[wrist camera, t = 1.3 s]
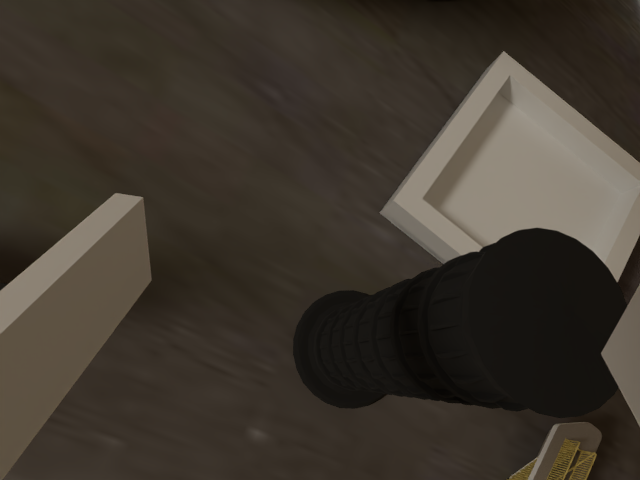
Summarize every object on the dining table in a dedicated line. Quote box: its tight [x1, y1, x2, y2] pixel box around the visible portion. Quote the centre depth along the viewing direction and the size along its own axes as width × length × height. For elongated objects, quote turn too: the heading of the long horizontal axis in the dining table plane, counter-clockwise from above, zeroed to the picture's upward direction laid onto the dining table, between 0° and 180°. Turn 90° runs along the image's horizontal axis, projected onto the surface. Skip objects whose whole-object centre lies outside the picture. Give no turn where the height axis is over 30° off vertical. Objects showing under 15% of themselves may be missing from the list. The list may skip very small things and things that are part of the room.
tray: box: [379, 51, 640, 282], centre depth 48 cm, size 22×22×4 cm
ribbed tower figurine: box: [293, 228, 627, 418], centre depth 29 cm, size 10×26×10 cm
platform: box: [506, 422, 602, 480], centre depth 40 cm, size 12×18×7 cm, turn 143°
